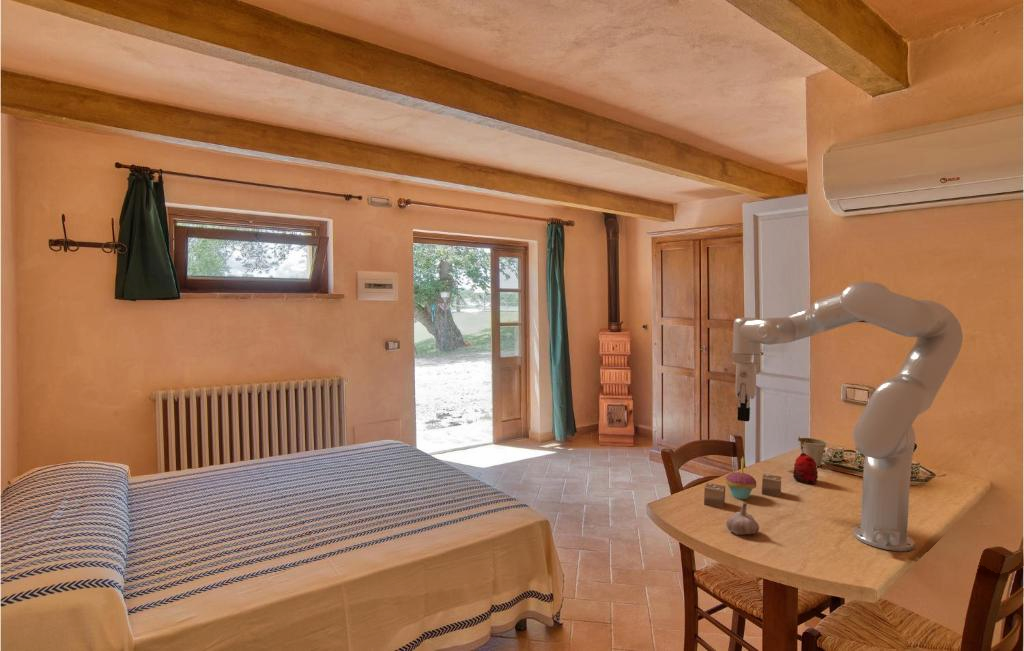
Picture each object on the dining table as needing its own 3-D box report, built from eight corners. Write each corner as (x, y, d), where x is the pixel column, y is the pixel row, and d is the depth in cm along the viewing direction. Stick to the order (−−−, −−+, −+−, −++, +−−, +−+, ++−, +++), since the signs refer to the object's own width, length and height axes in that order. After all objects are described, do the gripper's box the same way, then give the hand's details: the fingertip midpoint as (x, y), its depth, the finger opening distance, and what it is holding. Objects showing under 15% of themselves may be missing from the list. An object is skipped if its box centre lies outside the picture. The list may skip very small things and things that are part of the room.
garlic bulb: (763, 533, 137) (764, 502, 137) (751, 542, 132) (752, 510, 132) (733, 523, 143) (734, 494, 142) (721, 532, 137) (722, 501, 137)
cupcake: (727, 489, 168) (729, 451, 168) (757, 494, 164) (759, 455, 163) (722, 498, 161) (724, 458, 160) (753, 504, 157) (755, 463, 156)
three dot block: (722, 508, 153) (723, 490, 153) (704, 504, 155) (704, 487, 155) (724, 502, 157) (725, 485, 157) (706, 499, 160) (707, 482, 160)
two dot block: (780, 497, 162) (780, 480, 162) (761, 494, 165) (762, 477, 164) (780, 492, 167) (781, 476, 166) (762, 489, 169) (763, 473, 169)
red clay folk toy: (821, 485, 173) (824, 439, 172) (799, 485, 173) (801, 438, 173) (809, 477, 181) (811, 433, 180) (788, 477, 181) (790, 432, 180)
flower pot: (802, 458, 202) (803, 436, 202) (830, 465, 195) (831, 441, 195) (791, 463, 196) (792, 440, 196) (819, 470, 189) (820, 445, 188)
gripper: (757, 362, 152) (755, 427, 153) (761, 357, 165) (759, 417, 166) (729, 360, 155) (726, 423, 156) (735, 356, 169) (732, 414, 170)
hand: (743, 420), depth 161 cm, fingers closed
